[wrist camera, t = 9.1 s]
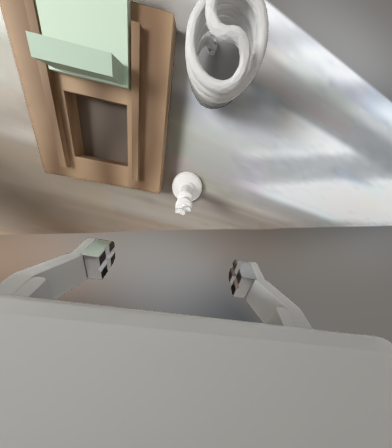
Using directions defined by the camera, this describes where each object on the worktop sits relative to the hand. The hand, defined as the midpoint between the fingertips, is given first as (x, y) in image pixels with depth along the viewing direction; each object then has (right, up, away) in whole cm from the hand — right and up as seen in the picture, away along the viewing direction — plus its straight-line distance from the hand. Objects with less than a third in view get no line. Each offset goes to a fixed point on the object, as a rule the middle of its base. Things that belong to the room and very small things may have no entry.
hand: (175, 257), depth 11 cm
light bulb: (+3, +19, +9) cm, 22 cm away
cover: (-9, +21, +5) cm, 24 cm away
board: (-10, +17, +10) cm, 22 cm away
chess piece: (0, +8, +15) cm, 17 cm away
